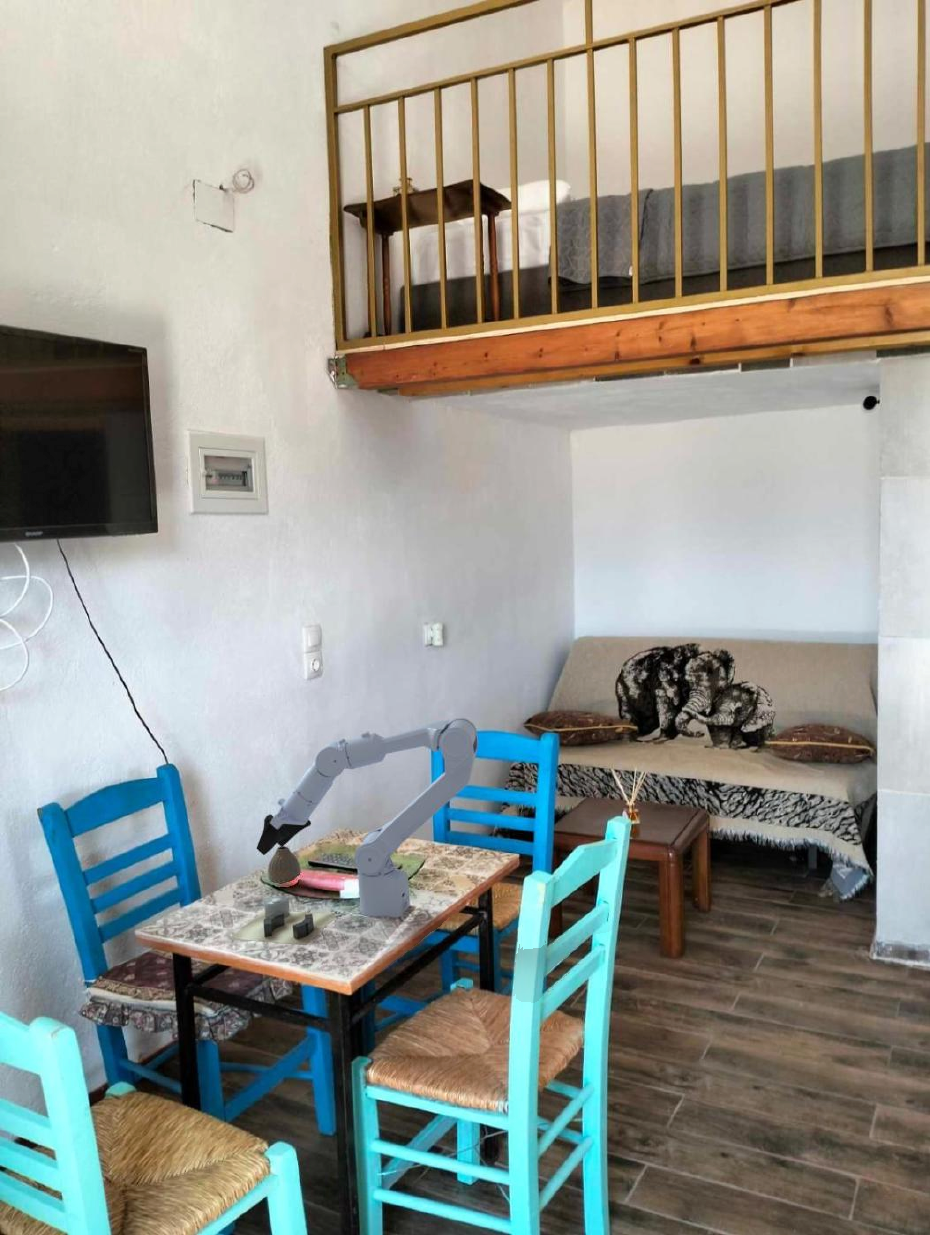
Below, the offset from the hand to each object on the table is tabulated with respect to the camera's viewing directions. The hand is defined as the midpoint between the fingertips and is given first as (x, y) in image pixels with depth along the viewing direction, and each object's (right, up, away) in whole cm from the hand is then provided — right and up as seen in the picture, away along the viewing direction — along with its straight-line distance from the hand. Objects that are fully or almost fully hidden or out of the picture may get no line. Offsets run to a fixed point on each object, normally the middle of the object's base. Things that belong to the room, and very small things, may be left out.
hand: (269, 847), depth 198 cm
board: (+4, -14, -7) cm, 17 cm away
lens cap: (+2, -13, -2) cm, 13 cm away
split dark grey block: (+6, -14, -10) cm, 18 cm away
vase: (0, -13, +16) cm, 21 cm away
